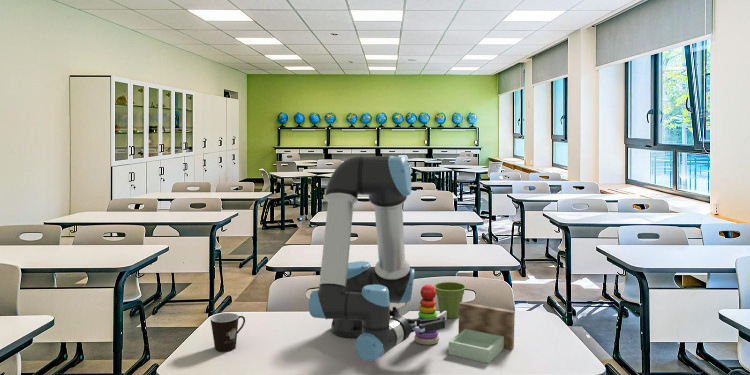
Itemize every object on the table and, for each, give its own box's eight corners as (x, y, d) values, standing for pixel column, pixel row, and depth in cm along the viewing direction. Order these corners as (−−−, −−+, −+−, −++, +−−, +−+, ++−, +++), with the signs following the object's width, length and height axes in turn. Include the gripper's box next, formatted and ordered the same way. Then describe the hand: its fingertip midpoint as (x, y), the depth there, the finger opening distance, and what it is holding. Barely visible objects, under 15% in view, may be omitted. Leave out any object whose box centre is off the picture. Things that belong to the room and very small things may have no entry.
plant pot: (447, 308, 219) (447, 279, 218) (472, 316, 210) (472, 286, 209) (426, 315, 211) (426, 285, 210) (451, 323, 202) (451, 292, 201)
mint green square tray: (448, 354, 175) (448, 341, 174) (464, 340, 186) (465, 328, 185) (489, 363, 168) (489, 350, 168) (503, 348, 179) (503, 336, 179)
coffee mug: (214, 355, 174) (213, 323, 173) (208, 345, 182) (207, 315, 181) (252, 348, 179) (251, 317, 178) (244, 339, 187) (244, 310, 186)
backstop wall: (458, 338, 188) (458, 303, 186) (460, 336, 189) (461, 301, 188) (511, 349, 178) (512, 312, 177) (513, 347, 180) (514, 310, 179)
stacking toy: (432, 347, 180) (432, 290, 178) (410, 342, 184) (410, 286, 182) (443, 339, 187) (443, 284, 185) (421, 335, 191) (421, 280, 189)
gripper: (357, 335, 172) (392, 315, 190) (432, 353, 159) (462, 329, 177) (357, 311, 171) (392, 294, 189) (432, 327, 158) (462, 306, 176)
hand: (426, 311), depth 183 cm, fingers open, 13 cm apart
